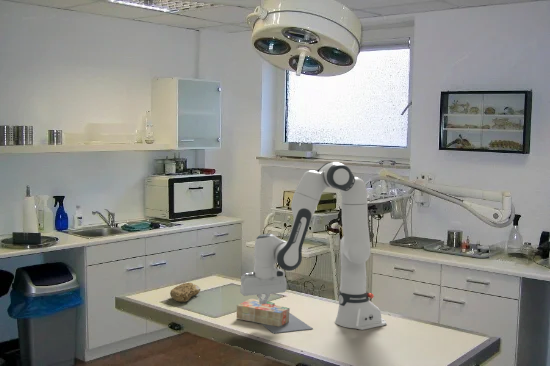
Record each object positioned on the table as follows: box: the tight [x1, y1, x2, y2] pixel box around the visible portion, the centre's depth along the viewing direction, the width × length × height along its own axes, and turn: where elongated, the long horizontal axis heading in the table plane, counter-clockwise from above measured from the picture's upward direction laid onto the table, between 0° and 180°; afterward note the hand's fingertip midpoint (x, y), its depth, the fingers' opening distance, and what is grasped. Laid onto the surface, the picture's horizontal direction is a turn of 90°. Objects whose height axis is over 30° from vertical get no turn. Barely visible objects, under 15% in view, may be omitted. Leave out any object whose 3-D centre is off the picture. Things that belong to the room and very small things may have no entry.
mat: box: [261, 312, 314, 334], centre depth 271 cm, size 18×26×1 cm
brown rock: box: [169, 282, 201, 303], centre depth 302 cm, size 13×8×20 cm
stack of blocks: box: [236, 298, 291, 327], centre depth 273 cm, size 21×6×12 cm
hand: (263, 303), depth 266 cm, fingers closed
